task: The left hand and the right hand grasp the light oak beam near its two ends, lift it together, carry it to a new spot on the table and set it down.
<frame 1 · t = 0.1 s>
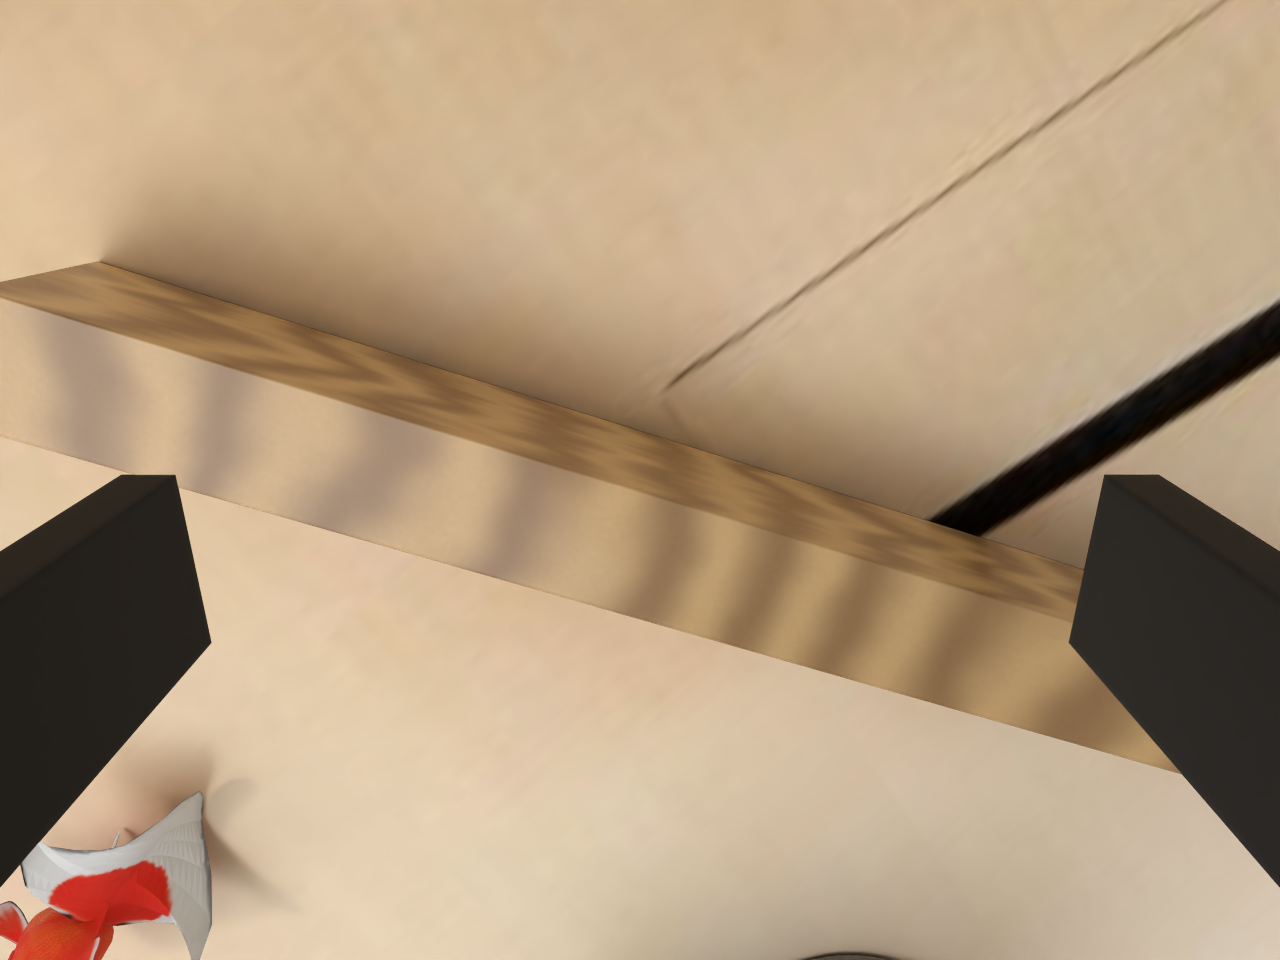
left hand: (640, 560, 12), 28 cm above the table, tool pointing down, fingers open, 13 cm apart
beam: (843, 549, 43), on the table
fish: (136, 846, 50), on the table
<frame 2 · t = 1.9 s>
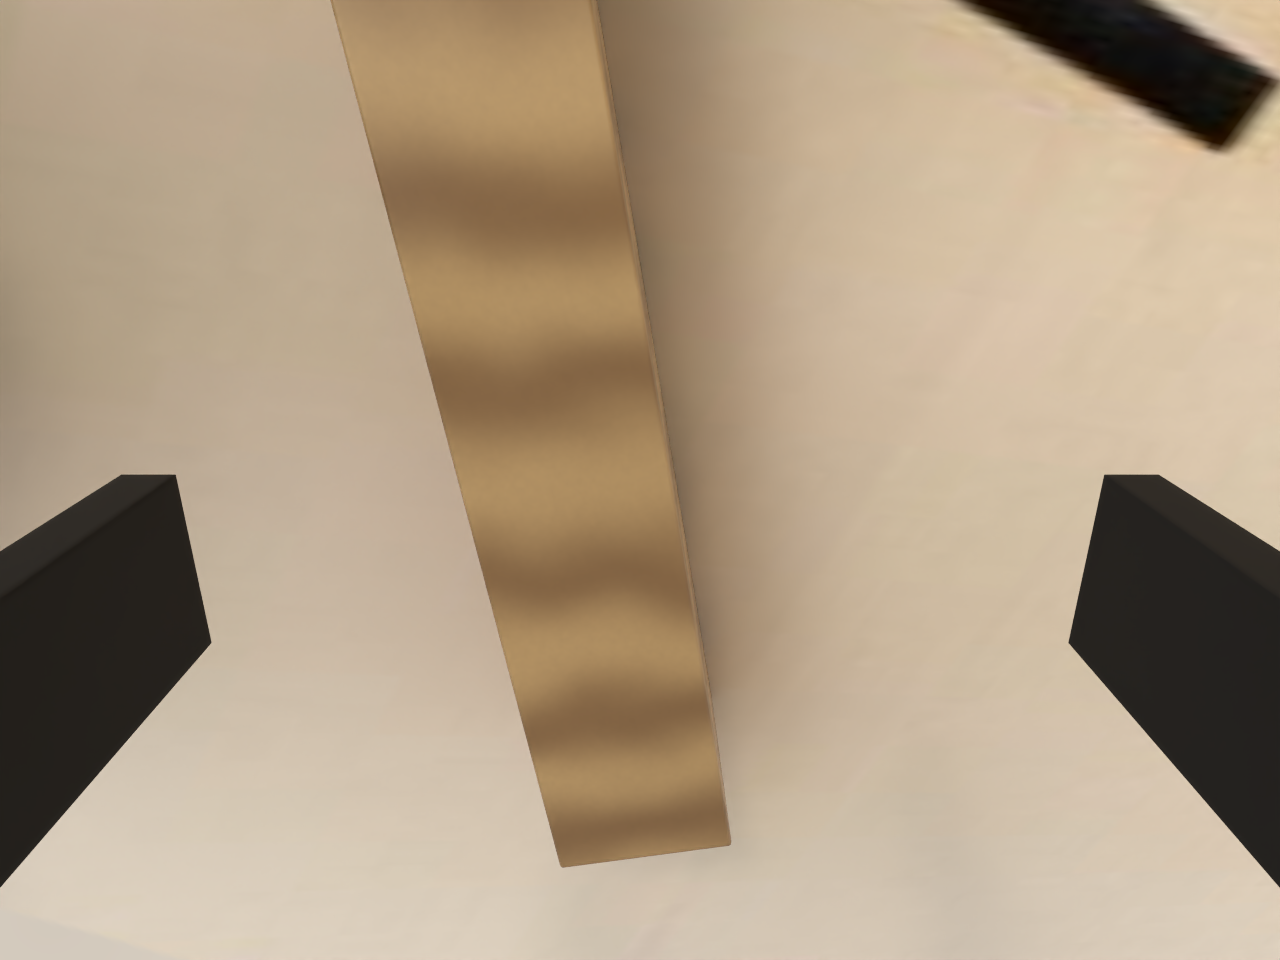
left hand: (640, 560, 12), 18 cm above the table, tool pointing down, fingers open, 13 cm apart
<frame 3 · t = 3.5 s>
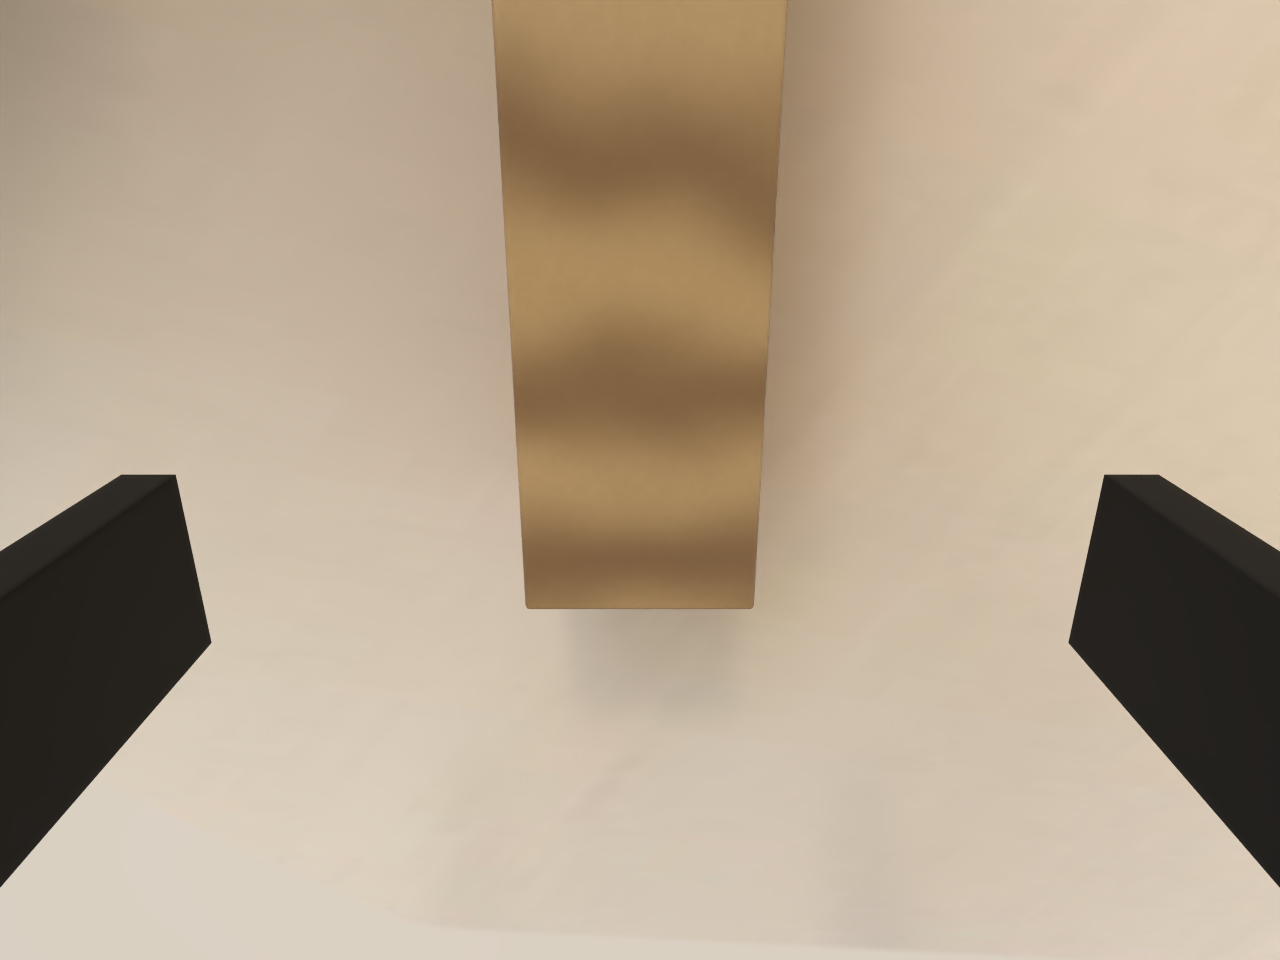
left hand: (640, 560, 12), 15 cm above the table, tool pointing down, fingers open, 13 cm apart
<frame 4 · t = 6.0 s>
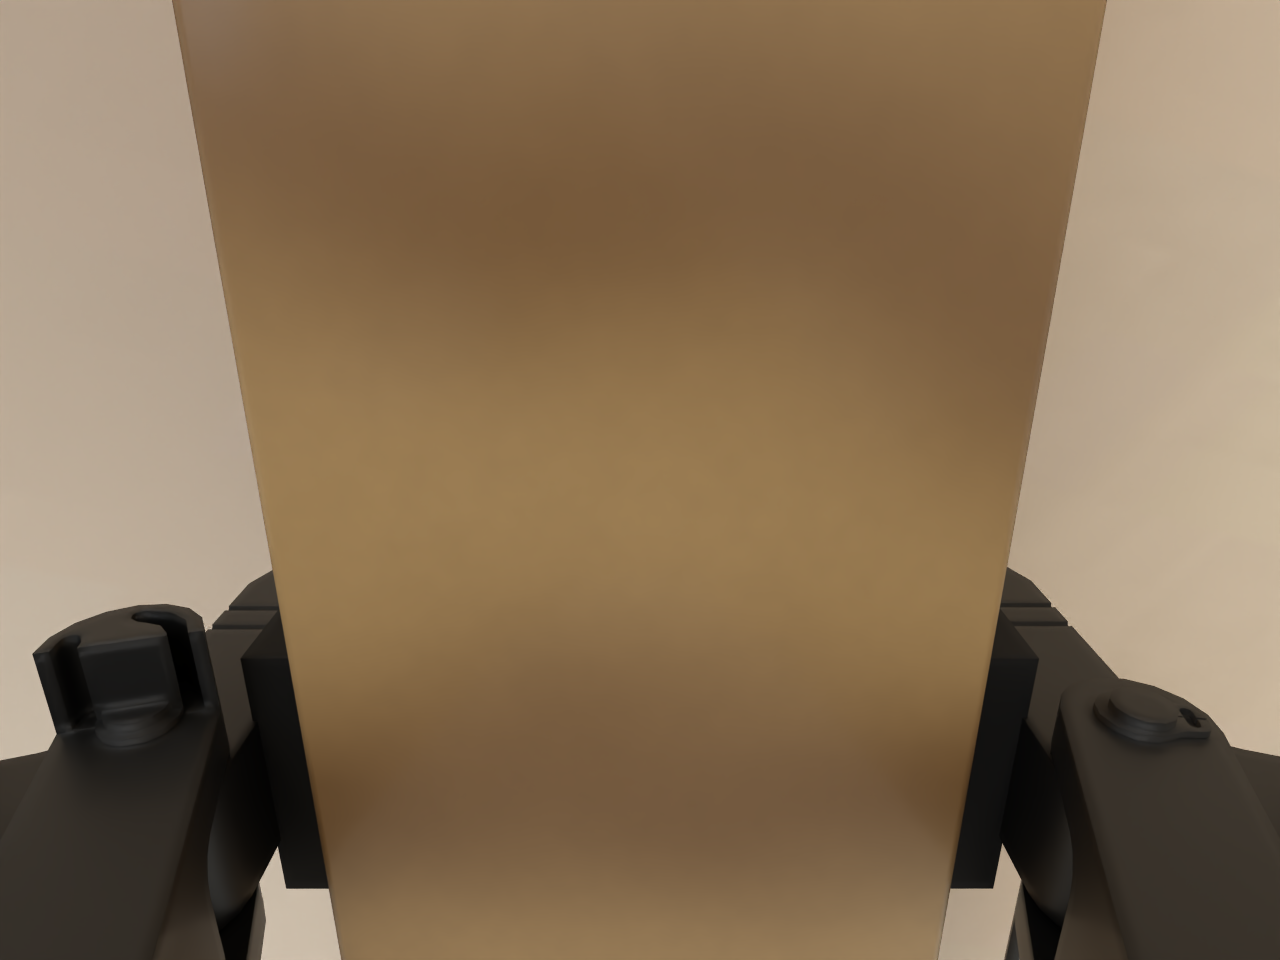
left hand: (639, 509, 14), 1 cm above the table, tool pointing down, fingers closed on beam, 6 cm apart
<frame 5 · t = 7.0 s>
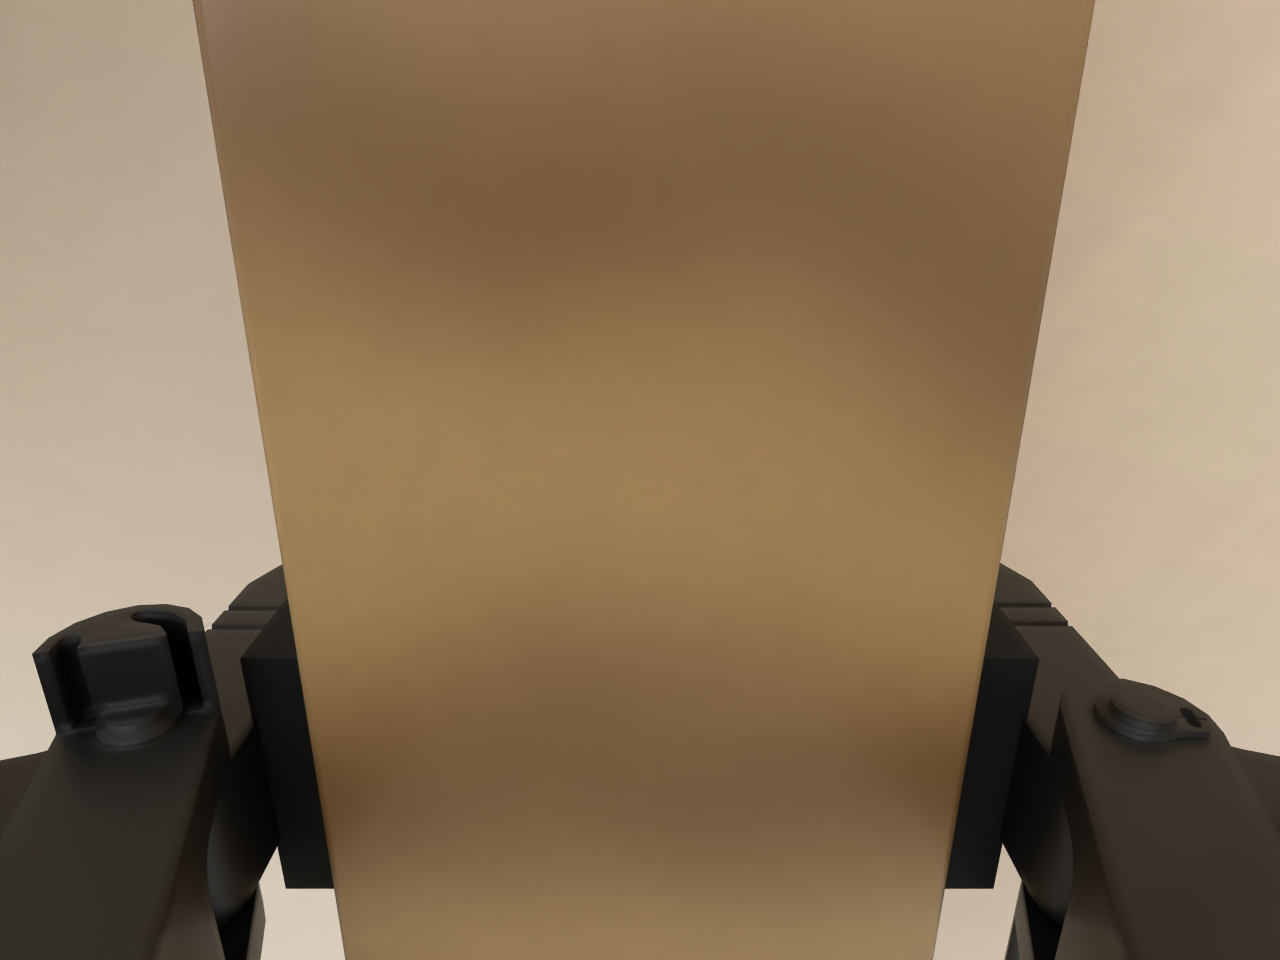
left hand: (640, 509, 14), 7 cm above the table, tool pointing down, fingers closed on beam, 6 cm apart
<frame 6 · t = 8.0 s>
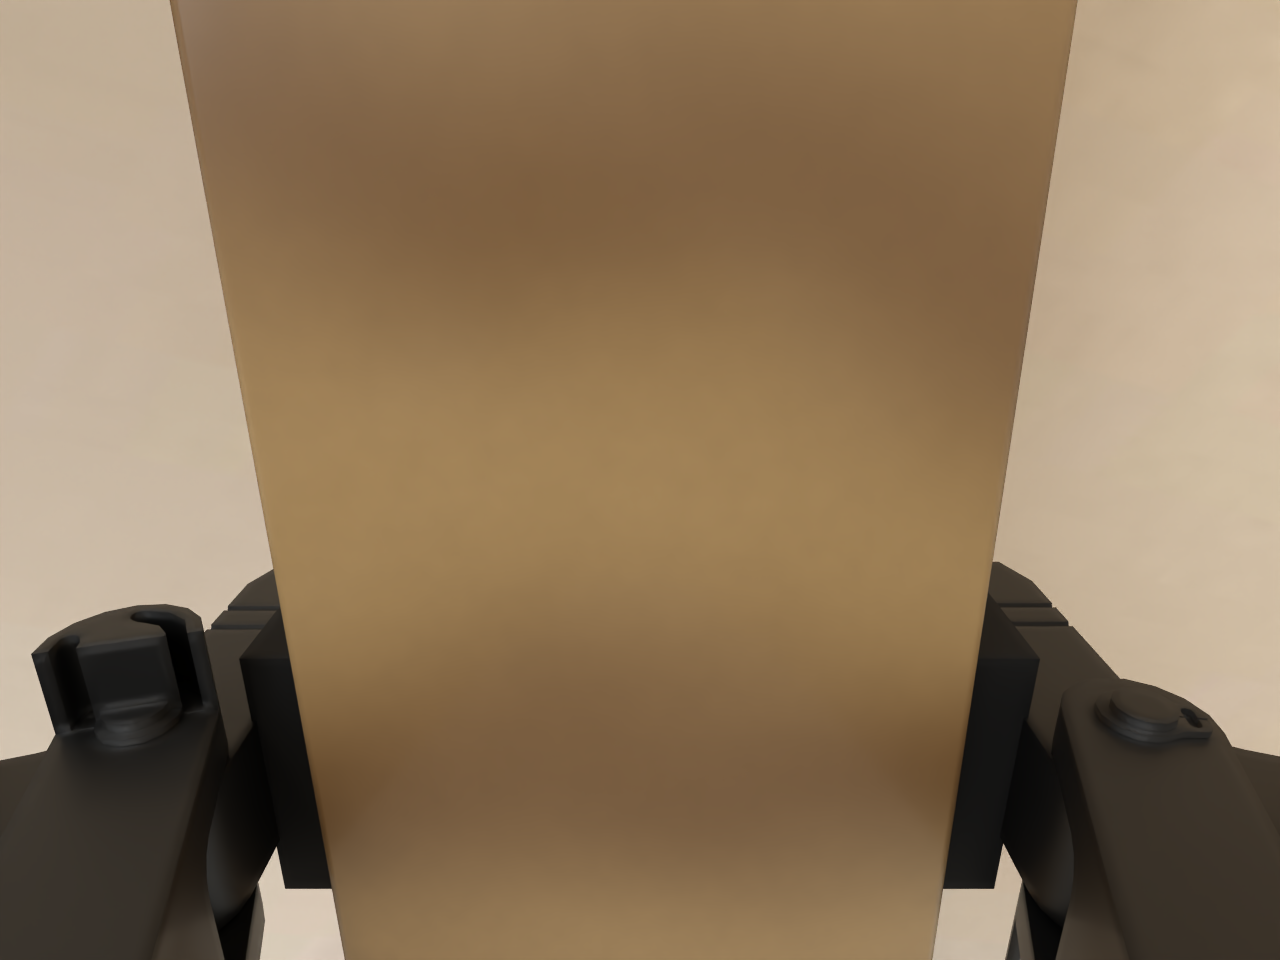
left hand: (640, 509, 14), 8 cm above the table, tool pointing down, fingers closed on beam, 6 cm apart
when the left hand's fingers open (2 cm above the table, at t = 10.4 s): beam drops 1 cm, on the table.
when the right hand's fingers open (4 cm above the table, at t = 10.6 s): beam stays where it is, on the table.
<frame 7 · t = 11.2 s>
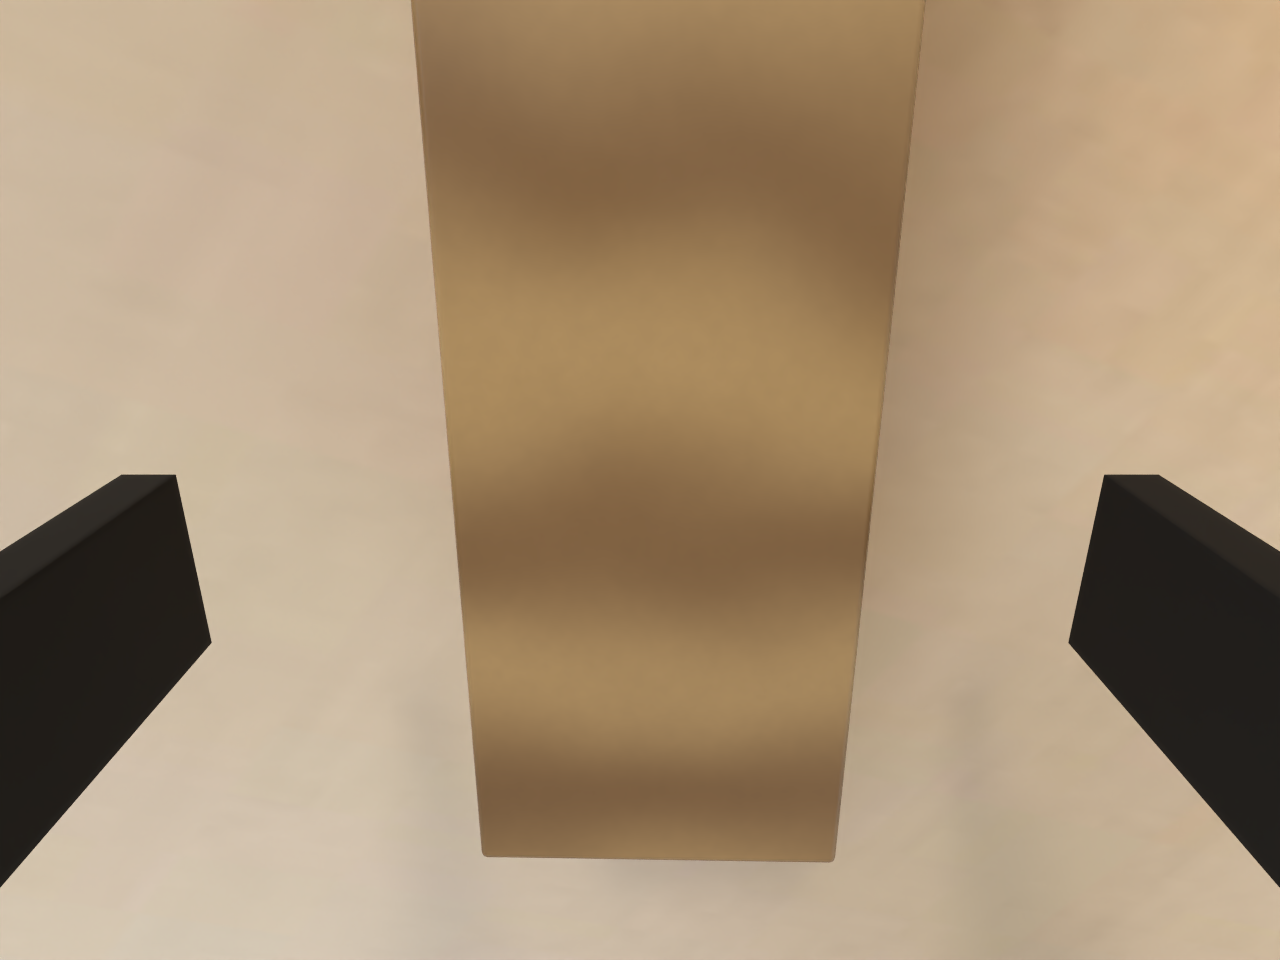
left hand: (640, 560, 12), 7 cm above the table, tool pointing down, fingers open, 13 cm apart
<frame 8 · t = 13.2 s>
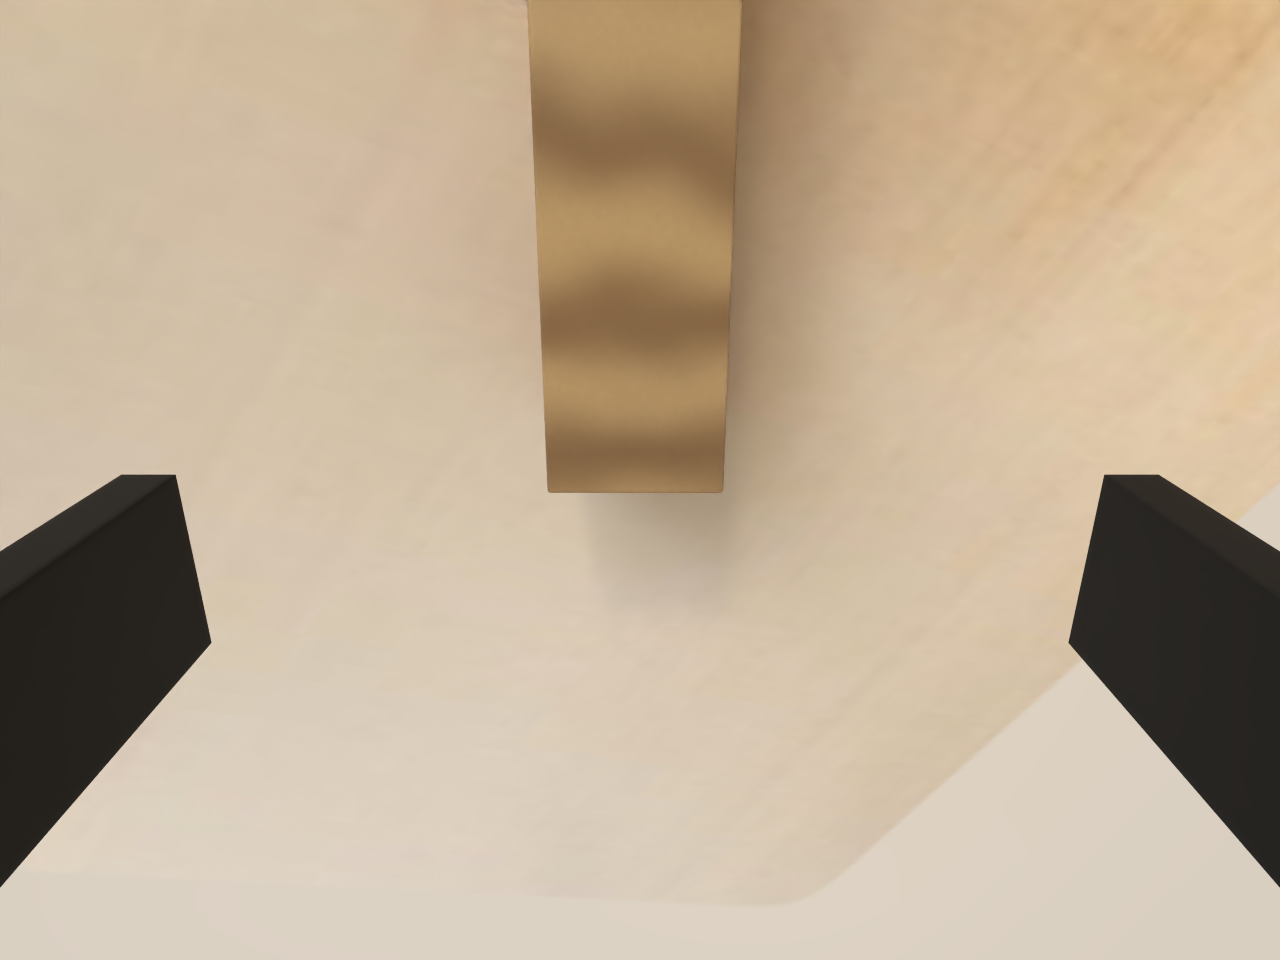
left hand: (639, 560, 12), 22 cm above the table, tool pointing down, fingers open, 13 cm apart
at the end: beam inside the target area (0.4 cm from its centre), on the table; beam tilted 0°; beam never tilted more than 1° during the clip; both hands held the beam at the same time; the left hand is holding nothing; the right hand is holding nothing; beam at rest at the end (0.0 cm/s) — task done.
